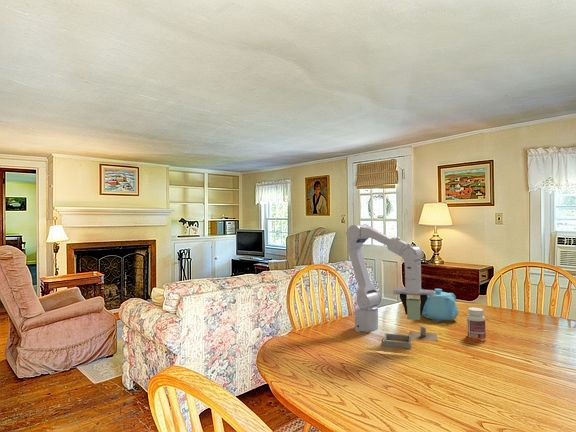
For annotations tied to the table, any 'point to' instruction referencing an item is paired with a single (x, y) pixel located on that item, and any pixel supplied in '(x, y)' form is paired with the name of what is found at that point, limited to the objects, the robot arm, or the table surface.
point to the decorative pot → (440, 306)
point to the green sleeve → (413, 308)
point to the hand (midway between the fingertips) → (413, 314)
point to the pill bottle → (476, 324)
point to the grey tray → (397, 344)
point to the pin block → (423, 335)
